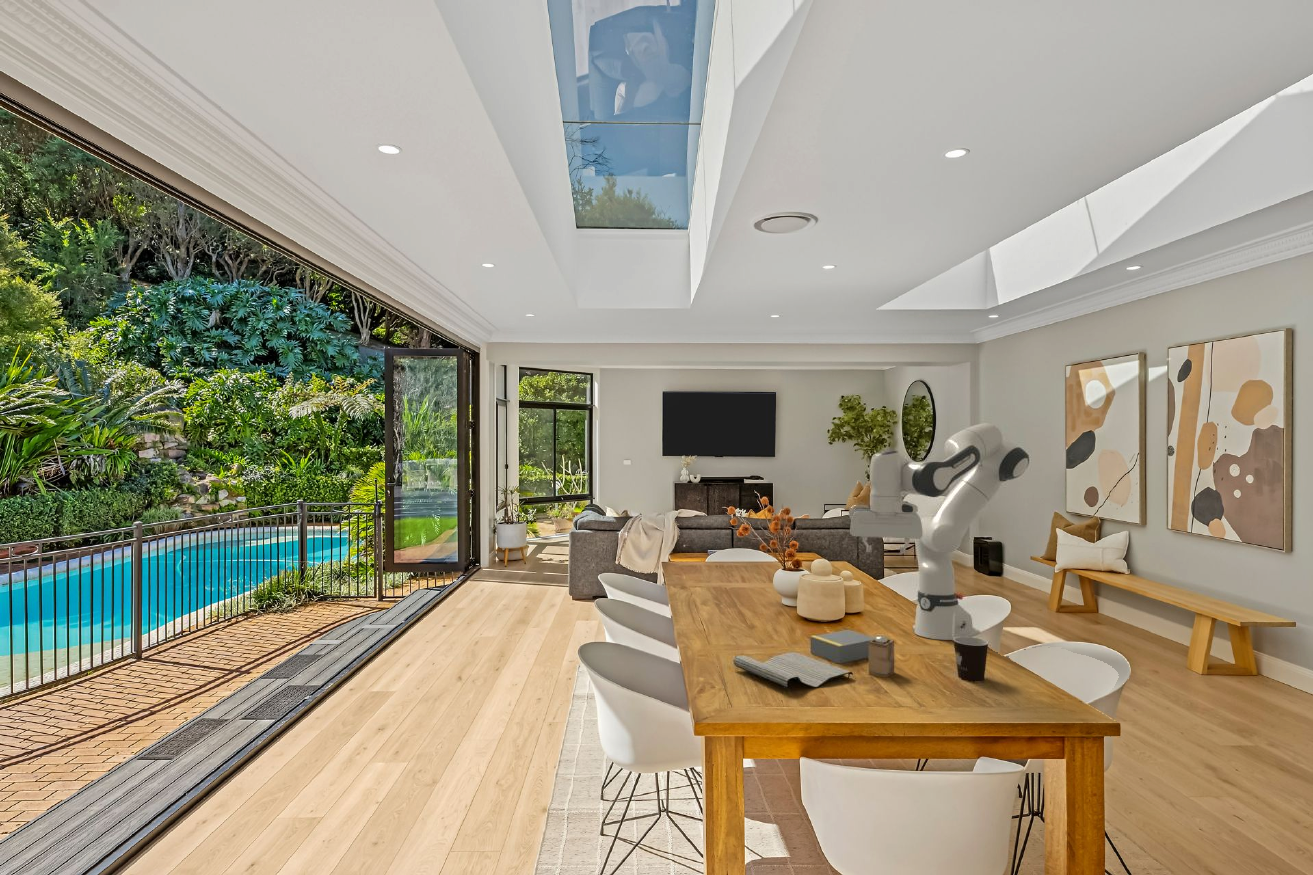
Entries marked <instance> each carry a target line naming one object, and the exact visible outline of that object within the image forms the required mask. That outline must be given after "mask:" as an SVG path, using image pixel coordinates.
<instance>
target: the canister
mask: <svg viewBox="0 0 1313 875" xmlns="http://www.w3.org/2000/svg"><path fill="white" fill-rule="evenodd" d="M874 638H875V642H876V643H882V644H886V643H887V639H888V637H887V636H884V635H876V636H874Z"/></svg>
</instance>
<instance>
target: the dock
mask: <svg viewBox="0 0 1313 875" xmlns="http://www.w3.org/2000/svg"><path fill="white" fill-rule="evenodd" d="M874 638H875V636H874V637H873V636H870V635H868V634H863V633H860V632H857V631H853V630H850V629H844V630H839V631H833V632H829V633H823V634H817V635H810V654H811V655H815V656H817V657H819V656H820V657H819V658H822V659H825V660H827V661H831V662H833V663H836V664H841V665H842V664H845V663H850V662H854V660H855V661H858V660H864V659H869V649H868V642H869V641H871V640H872V639H874ZM863 658H864V659H863Z"/></svg>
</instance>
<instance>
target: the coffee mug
mask: <svg viewBox="0 0 1313 875" xmlns="http://www.w3.org/2000/svg"><path fill="white" fill-rule="evenodd" d="M952 641H953V648H954V655H955V662H956V670H957V671H956V672H957V677H958V678H959V679H960V678H961V680H962V681H965V680H968V681H967V682H970V681H973V682H972V683H976V682H975V681H982V680H984V681H985V673H986V665H987V656H988V648H989V642H988V641H987V640H986V639H982V638H978V637H975V636H973V637H956V638H954V639H953V640H952ZM982 682H983V681H982Z"/></svg>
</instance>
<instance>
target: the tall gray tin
mask: <svg viewBox="0 0 1313 875" xmlns="http://www.w3.org/2000/svg"><path fill="white" fill-rule="evenodd" d="M868 649H869V657H868V675H870V676H875V677H879V678H883V679H887V678H889V677H890V676H892V675H893V674H894V673H895V640H894V639H890V638H889V639H888V638H887V643H886V644H882V643H876V642H875V637H874V639H872V640H871V641H869V642H868Z"/></svg>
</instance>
